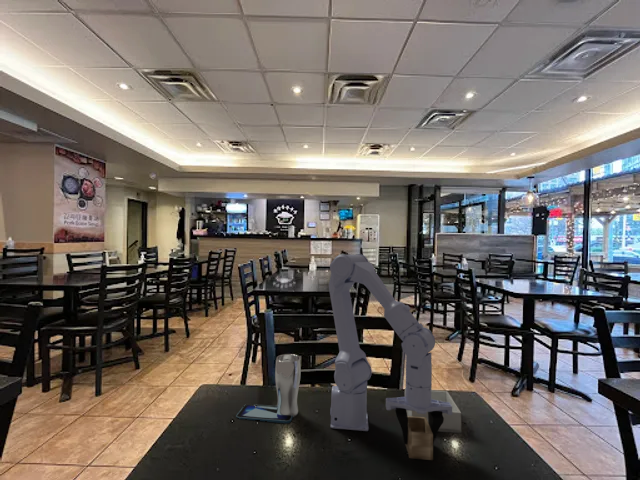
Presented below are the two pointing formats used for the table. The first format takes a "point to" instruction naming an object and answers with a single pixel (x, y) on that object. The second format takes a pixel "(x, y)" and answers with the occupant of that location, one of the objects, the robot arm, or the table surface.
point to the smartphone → (262, 414)
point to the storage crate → (450, 421)
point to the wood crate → (419, 438)
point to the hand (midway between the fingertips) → (417, 442)
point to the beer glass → (287, 384)
